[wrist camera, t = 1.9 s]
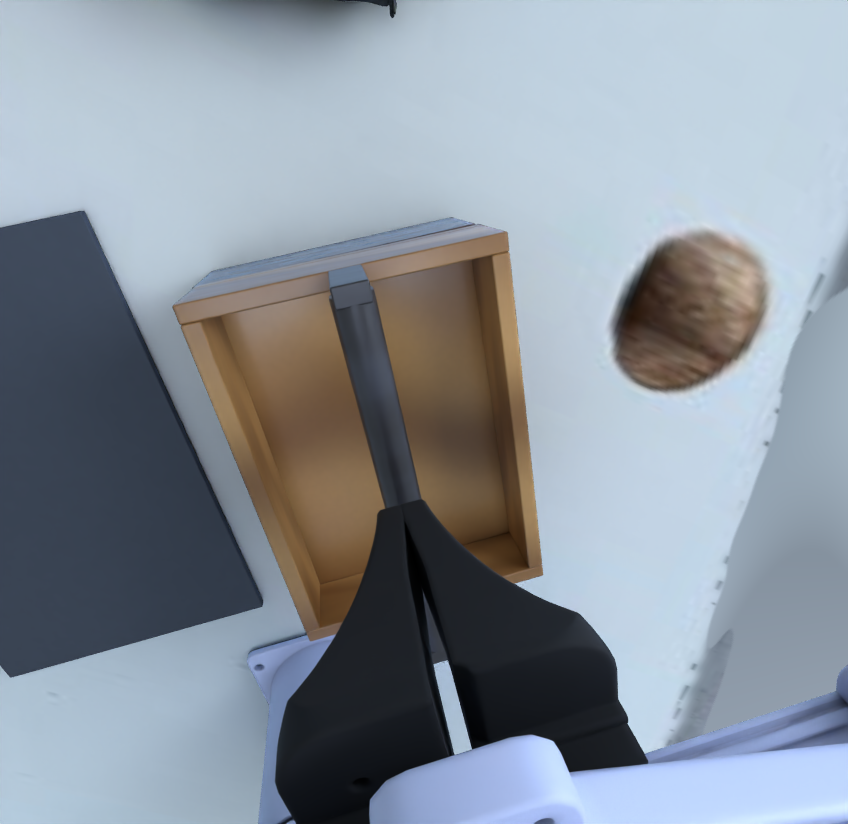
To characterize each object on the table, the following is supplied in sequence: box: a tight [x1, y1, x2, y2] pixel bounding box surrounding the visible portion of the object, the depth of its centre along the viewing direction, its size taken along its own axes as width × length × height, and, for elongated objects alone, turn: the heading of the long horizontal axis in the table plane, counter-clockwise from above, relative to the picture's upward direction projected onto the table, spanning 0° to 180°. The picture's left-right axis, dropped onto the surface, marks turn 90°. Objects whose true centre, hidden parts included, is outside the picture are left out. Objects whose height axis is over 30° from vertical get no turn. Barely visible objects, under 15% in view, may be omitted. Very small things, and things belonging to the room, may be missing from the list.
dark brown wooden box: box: [192, 217, 475, 289], centre depth 22 cm, size 14×10×4 cm
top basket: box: [173, 224, 543, 664], centre depth 18 cm, size 14×10×6 cm
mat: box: [0, 211, 263, 677], centre depth 22 cm, size 20×13×1 cm, turn 11°
